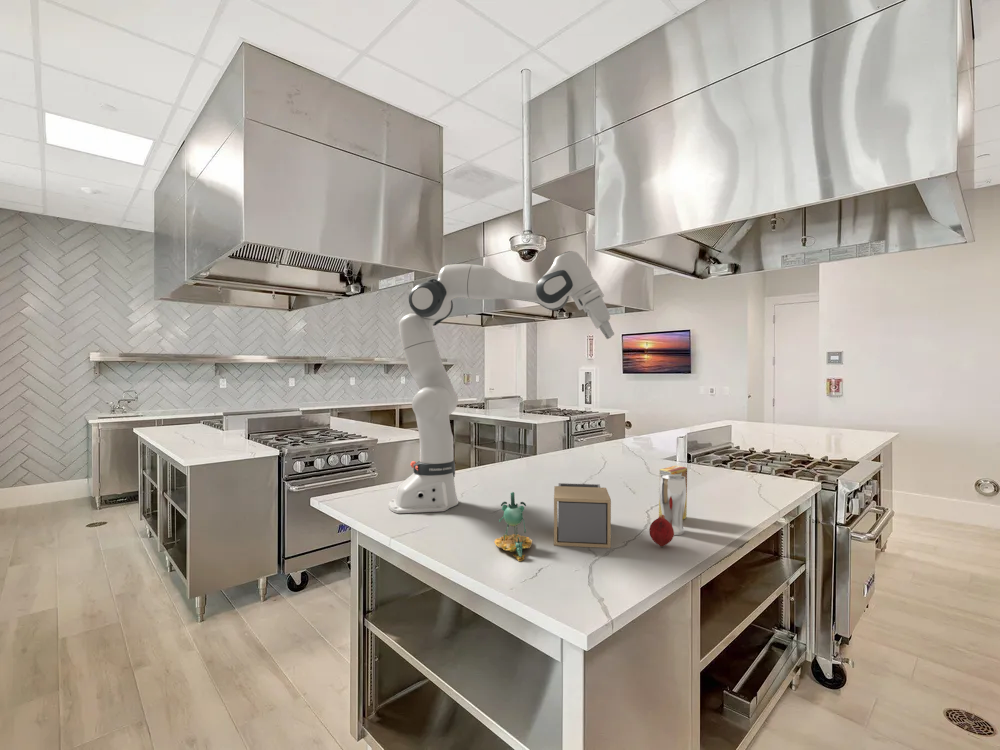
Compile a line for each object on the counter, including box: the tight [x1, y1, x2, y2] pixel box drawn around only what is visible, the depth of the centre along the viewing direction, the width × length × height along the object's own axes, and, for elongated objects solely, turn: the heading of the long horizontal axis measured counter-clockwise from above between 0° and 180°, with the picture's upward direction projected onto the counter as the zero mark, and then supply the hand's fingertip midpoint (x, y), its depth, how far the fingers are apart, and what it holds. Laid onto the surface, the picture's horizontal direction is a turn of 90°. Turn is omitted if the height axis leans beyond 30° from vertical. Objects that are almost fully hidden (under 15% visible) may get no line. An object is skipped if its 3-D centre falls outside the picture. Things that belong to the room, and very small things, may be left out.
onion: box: [648, 514, 675, 547], centre depth 117 cm, size 6×6×8 cm
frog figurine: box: [493, 491, 533, 562], centre depth 118 cm, size 10×18×15 cm, turn 175°
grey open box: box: [557, 482, 606, 543], centre depth 127 cm, size 20×12×10 cm, turn 173°
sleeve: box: [553, 485, 612, 549], centre depth 123 cm, size 12×14×12 cm
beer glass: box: [658, 474, 686, 536], centre depth 128 cm, size 7×7×15 cm
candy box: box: [658, 465, 688, 520], centre depth 138 cm, size 9×4×15 cm, turn 129°
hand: (610, 337), depth 146 cm, fingers open, 8 cm apart
